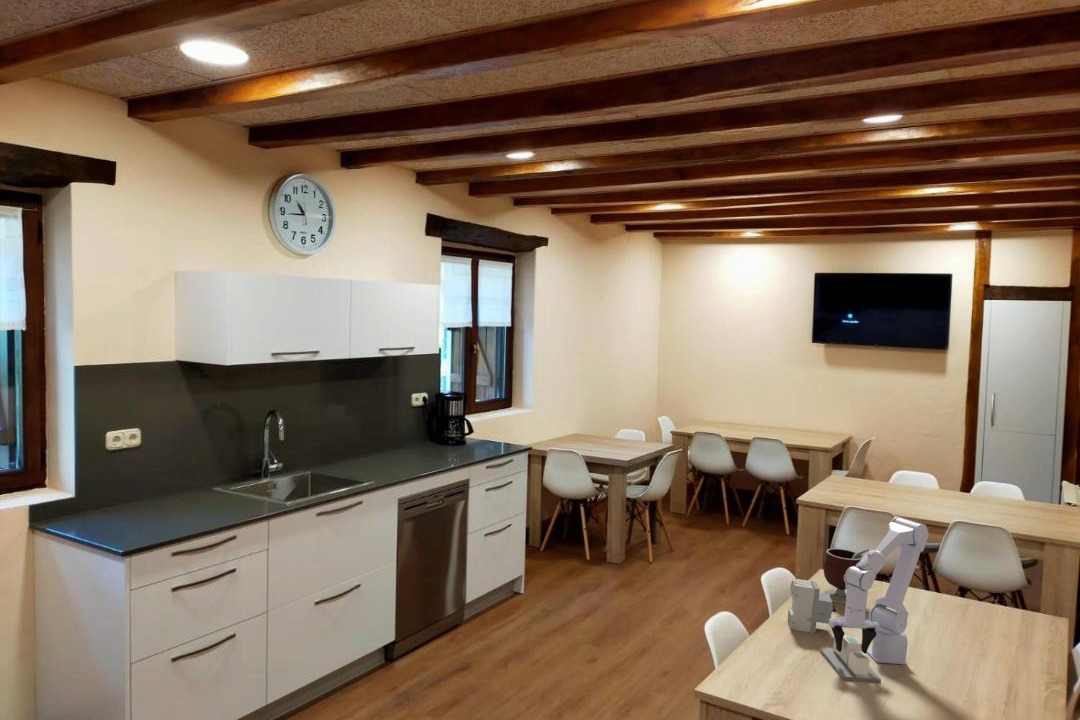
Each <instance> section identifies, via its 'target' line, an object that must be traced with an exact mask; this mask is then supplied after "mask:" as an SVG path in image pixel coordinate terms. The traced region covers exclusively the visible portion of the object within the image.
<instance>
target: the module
mask: <svg viewBox="0 0 1080 720" xmlns="http://www.w3.org/2000/svg"><path fill="white" fill-rule="evenodd" d="M861 645H862V642H860V641H859V639H857V637H855V636H854V637H853V636H848V637H843V640H842V649H841V654H840V657H841V659H842V660H843V661H844V662H845V663H846V664H848V659H849V651H851V652H862V651H861Z"/></svg>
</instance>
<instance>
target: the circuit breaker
mask: <svg viewBox="0 0 1080 720" xmlns="http://www.w3.org/2000/svg"><path fill="white" fill-rule="evenodd" d="M789 590H790V595H791V607H788V611H787V624H788V627H789V630H794V631H800V632H806V633H813V634H815V633H816V631H817V630H816V629H817V623H821V624H828V625H829V619H832V613H837V608H836V606H835V605H833V601H832V600H831V598H830V596H829V594H824V593H823V592H821V591H820V588H819V585H818V582H817V581H814V580H806V579H801V578H800V579H799V578H792V579H791V583H790V589H789Z"/></svg>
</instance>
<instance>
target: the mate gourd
mask: <svg viewBox="0 0 1080 720" xmlns="http://www.w3.org/2000/svg"><path fill="white" fill-rule="evenodd" d="M869 551H870V549H869V548H867V549H862V550H858V551H853V550H849V549H843V548H828V549H826V553H825V555H824V558H823V566H822V567H823V576H824V578H825V580H826V582H827V583H828V584H829V585H830V586H833V587H834V588H836V590H833V589H831V590H830V589H828V590H824V591H823V592H822V593H824V594H829V596H830V598H831V600H832V602H833V601H834V602H833V603H836V602H838V603H837V604H841V603H843V604H842V605H846V596H847V590H846V588H845V587H846V583H845V581H844V575H845V573H846V570H847V569H848V568H849V567H853V566H856V565H857V564H858V563H859V562H860V560H861V559H862V558H863V557H864V556H863V554H864V553H868V552H869Z"/></svg>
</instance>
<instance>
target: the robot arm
mask: <svg viewBox="0 0 1080 720" xmlns="http://www.w3.org/2000/svg"><path fill="white" fill-rule="evenodd" d="M887 528H888V529H887V533H886V535H885V536H884V537H883V539H882V540H881V542H880V543H879V544H878V546H877V547H876V548H875V549H873V550H871V549H869V551H867V552H866V554H865V555H864V556H863V558H862V559H861V560H860V562H859V563H858V564H857V565H856V566H853V567H849V568H848V569H847V570H846V573H845V575H844V581H845V583H846V587H845V588H846V590H845V591H846V593H847V596H846V604H845V607H844V617H840V618H839V617H837V618H831V619H829V624H828V626H829V627H830V628H831V631H832V635H833V636H834V637H835V642H836V649H837V650H838V651H839V652H841V649H842V640H843V636H845V631H844V629H843V628H848V629H860V630H861V635H862V636H861V637H862V638H861V652H863V653H864V654H868V655H869V656H870V657H871V658H872V659H873V661H875V662H876V663H880V664H882V663H884V664H896V665H898V664H899V665H907V653H908V645H909V644H908V636H907V634H906V633H905V632H906V629H907V626H908V617H909V611H908V610H907V608H906V607H905V605H904V600H905V597H906V594H907V592H908V589H909V586H910V583H911V581H912V577H913V574H914V572H915V569H916V565H917V563H918V560H919V558H920V554H921V553H922V552H924V549H925V547H926V544H927V542H928V539H929V535H930V534H929V530H928V527H927V525H926V524H925V523H919V522H916V521H913V520H910V519H906V518H903V517H901V516H894V517H893V518H892V519H891V521H890V522H889V523H888V527H887ZM898 547H899V548H900V553H899V556H898V559H897V562H896V565H895V567H894V570H893V573H892V576H891V578H890V582H889V585H888V586H887V587H888V588H887V589H886V593H885V595H884V596H883V597H880V598H878V599H876V600H875V602H874V604H873V606H872V607H871V608H870V609H869V614H868V618H869V620H866V613H867V601H868V593H869V592H868V591H869V590H870V589H871V588H872V586H873V585H874V581H875V580H876V578H877V577H876V575H878V573H879V572H880V571H881V570H882V568H883V567H885V565H886V558H887V557H888V556H889V555H890V554H891V553H892V552H893V551H895V549H897V548H898ZM889 608H890V609H889ZM871 643H872V644H871ZM870 645H871V646H872V647H871V649H869V647H870Z"/></svg>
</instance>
